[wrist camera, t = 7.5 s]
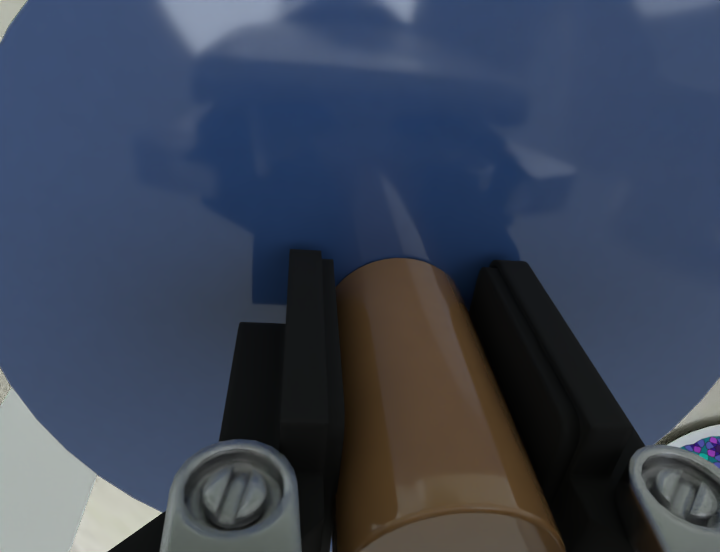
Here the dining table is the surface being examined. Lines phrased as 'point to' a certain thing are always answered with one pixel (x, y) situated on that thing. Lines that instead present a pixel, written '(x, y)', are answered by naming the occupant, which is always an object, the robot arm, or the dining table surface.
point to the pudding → (702, 443)
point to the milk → (37, 484)
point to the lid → (356, 228)
